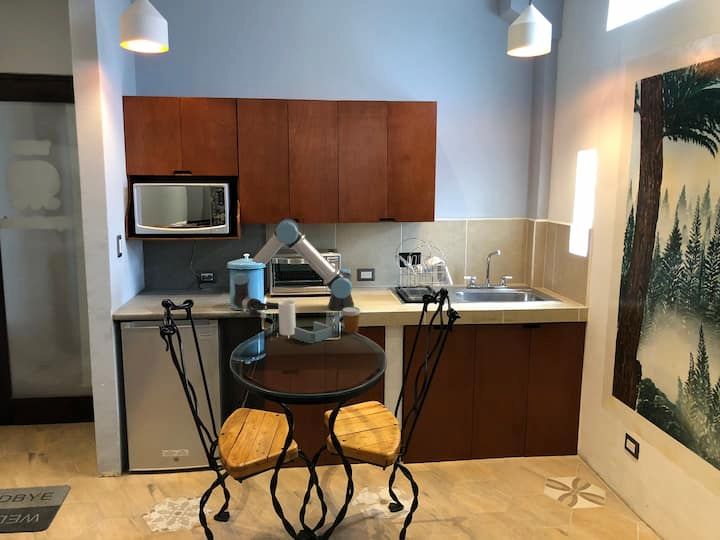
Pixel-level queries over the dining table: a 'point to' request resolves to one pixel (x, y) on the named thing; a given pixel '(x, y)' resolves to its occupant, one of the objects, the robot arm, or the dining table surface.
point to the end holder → (314, 333)
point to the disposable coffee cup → (351, 319)
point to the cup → (286, 317)
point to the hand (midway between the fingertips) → (276, 312)
